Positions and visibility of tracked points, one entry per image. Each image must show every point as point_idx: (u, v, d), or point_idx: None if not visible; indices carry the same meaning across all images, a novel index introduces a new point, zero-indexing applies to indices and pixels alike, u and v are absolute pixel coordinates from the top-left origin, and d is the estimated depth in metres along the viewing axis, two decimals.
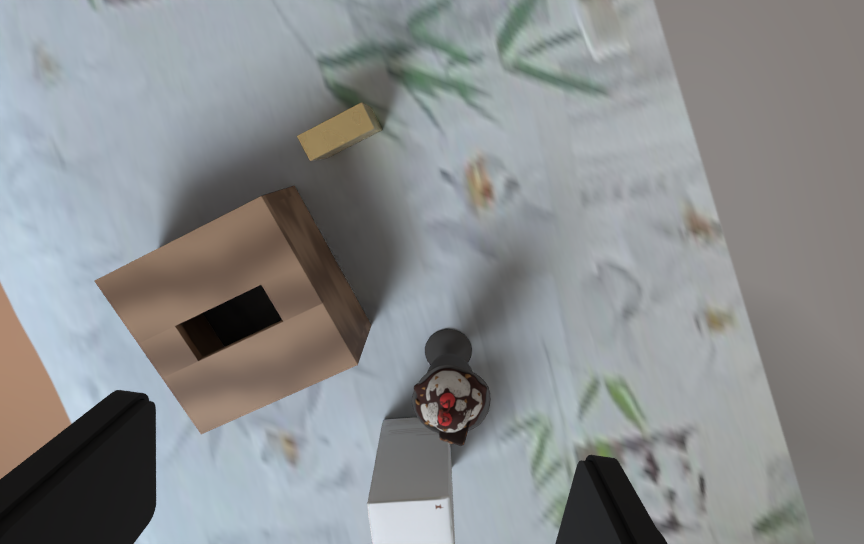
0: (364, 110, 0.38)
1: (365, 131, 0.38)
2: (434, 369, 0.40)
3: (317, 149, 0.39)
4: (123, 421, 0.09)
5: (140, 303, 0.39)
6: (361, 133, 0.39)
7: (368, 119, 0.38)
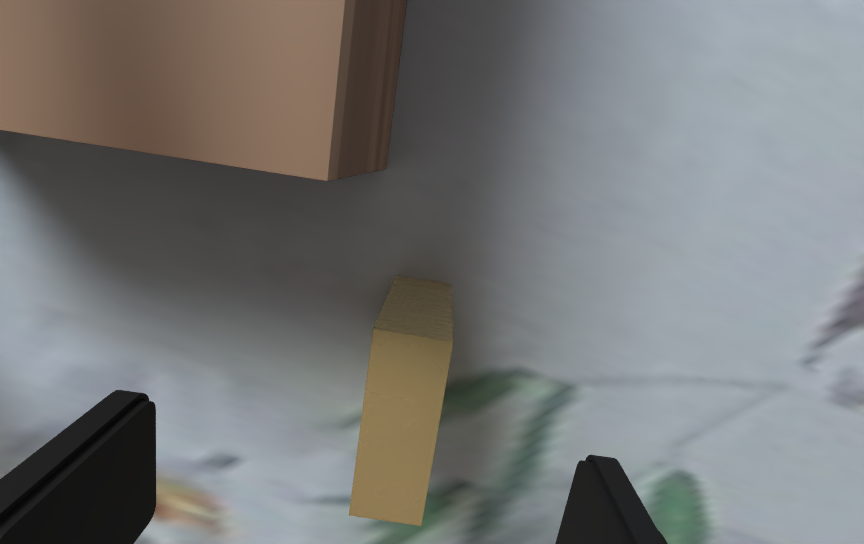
0: (400, 520, 0.14)
1: (354, 493, 0.14)
2: None
3: (388, 366, 0.13)
4: (123, 421, 0.09)
5: None
6: (356, 482, 0.14)
7: (376, 515, 0.14)
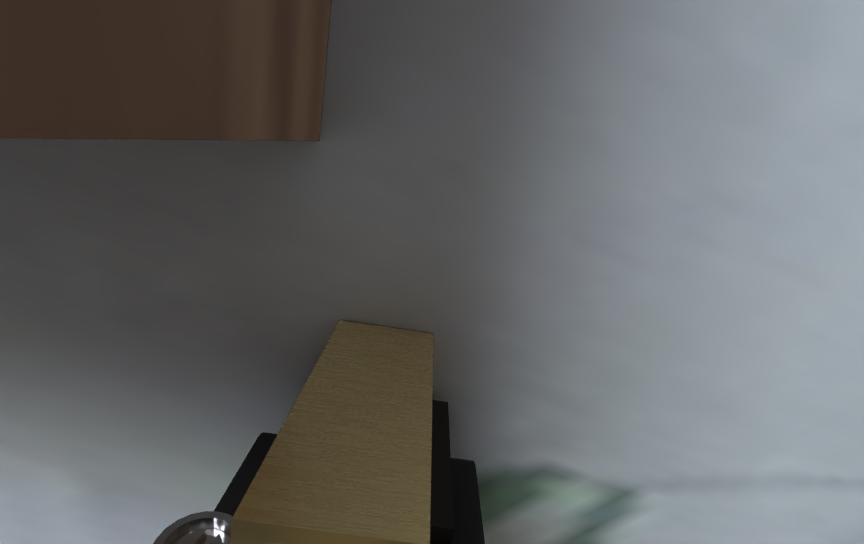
0: None
1: None
2: None
3: None
4: None
5: None
6: None
7: None
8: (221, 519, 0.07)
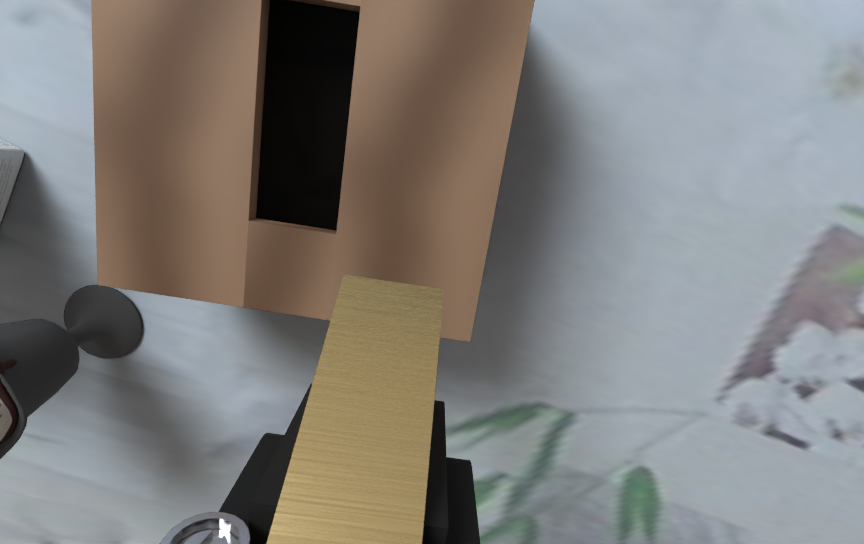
0: None
1: None
2: (21, 411, 0.21)
3: None
4: None
5: None
6: None
7: None
8: (226, 520, 0.07)
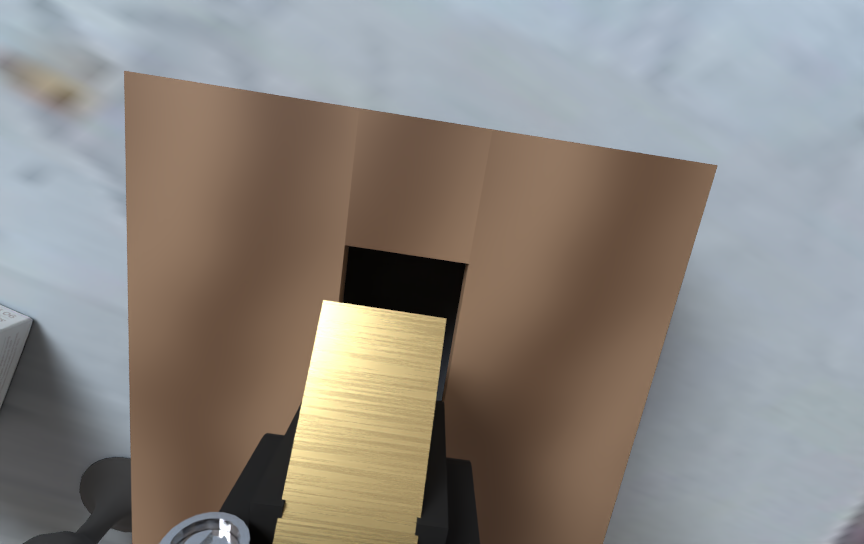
0: None
1: None
2: None
3: None
4: None
5: (579, 230, 0.13)
6: None
7: None
8: (226, 520, 0.07)
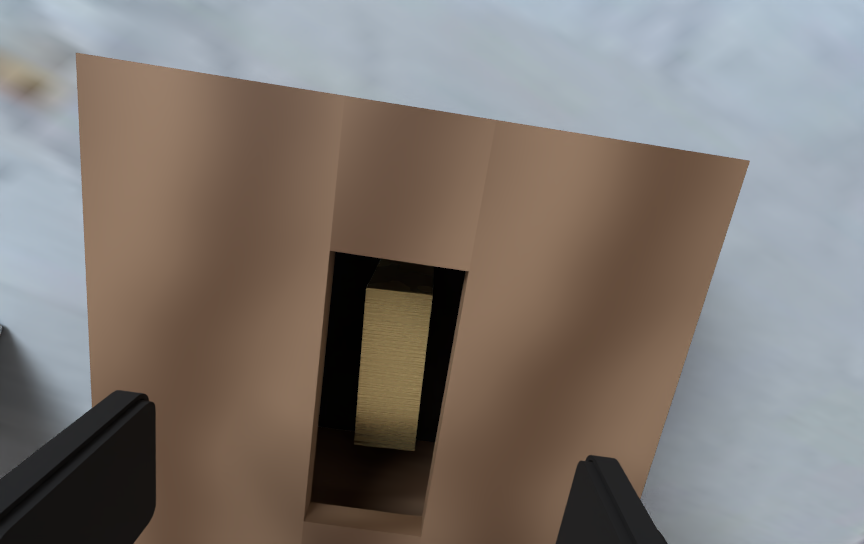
0: None
1: None
2: None
3: None
4: (123, 421, 0.09)
5: (593, 233, 0.12)
6: None
7: None
8: None
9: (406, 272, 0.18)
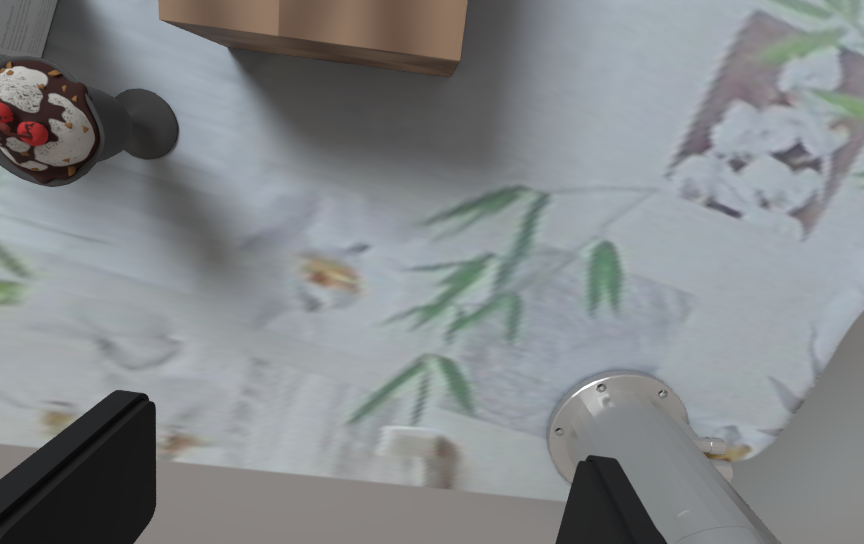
0: None
1: None
2: (101, 130, 0.26)
3: None
4: (123, 421, 0.09)
5: None
6: None
7: None
8: None
9: None
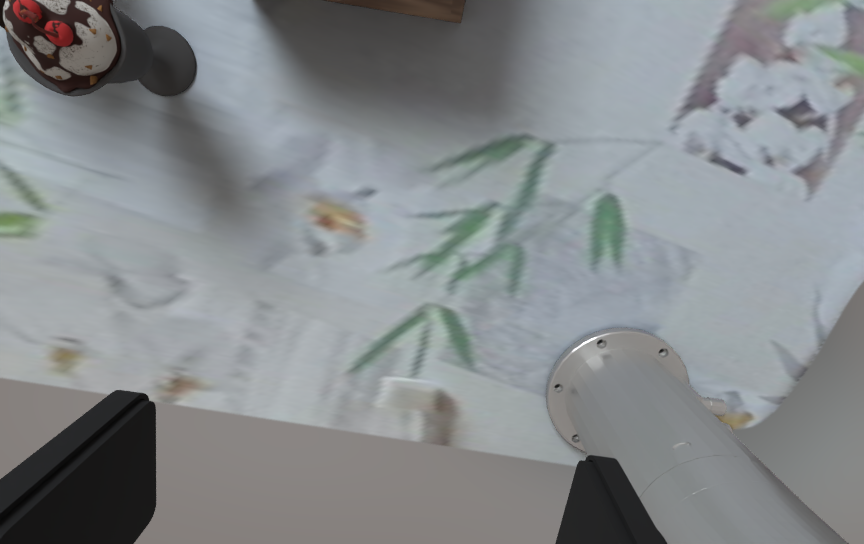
0: None
1: None
2: (123, 41, 0.27)
3: None
4: (123, 421, 0.09)
5: None
6: None
7: None
8: None
9: None
